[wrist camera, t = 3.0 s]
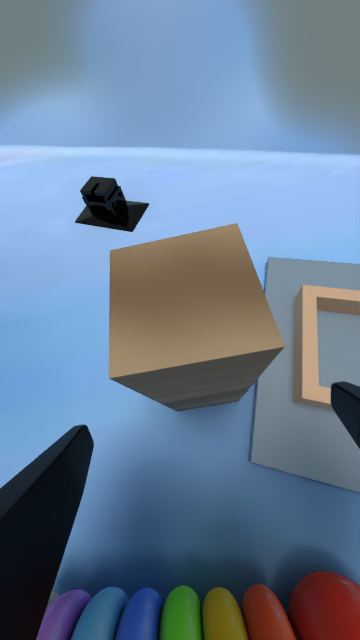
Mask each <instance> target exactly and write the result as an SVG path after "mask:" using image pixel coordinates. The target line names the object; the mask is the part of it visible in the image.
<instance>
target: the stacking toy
mask: <svg viewBox="0 0 360 640" xmlns="http://www.w3.org/2000/svg"><path fill="white" fill-rule="evenodd" d="M287 616H288V618H287ZM36 640H360V586H359V585H358V584H356V583H355V582H353V581H352V580H350V579H349V578H347V577H345V576H342V575H340V574H337V573H334V572H329V571H317V572H313V573H310V574H308V575H306V576H304V577H303V578H302V579H301V580H300V581H299V582H298V584H297V585H296V586H295V588H294V590H293V592H292V594H291V597H290V600H289V606H288V612H287V615H286V613H285V611H284V609H283V607H282V605H281V603H280V601H279V599H278V598H277V596H276V595H275V594H274V592H273V591H272V590H271V589H269V588H268V587H266V586H265V585H261V584H255V585H252V586H251V587H249V588H248V589H247V590H246V592H245V594H244V597H243V601H242V607H241V610H240V608H239V605H238V603H237V601H236V600H235V598H234V596H233V595H232V594H231V593H230V592H229V591H228V590H227V589H225V588H222V587H216V588H213V589H211V590H210V591H209V592H208V593H207V595H206V597H205V599H204V602H203V604H202V607H201V603H200V600H199V598H198V596H197V594H196V593H195V591H194V590H193V589H192V588H190V587H188V586H179V587H176V588H175V589H173V590H172V591H171V592H170V593H169V595H168V596H167V598H166V600H165V603H164V602H163V600H162V598H161V596H160V595H159V594H158V592H157V591H155V590H153V589H151V588H143V589H141V590H139V591H137V592H136V593H135V594H134V595H133V596H132V597H131V598H130V599H128V597H127V595H126V594H125V592H124V591H123V590H121V589H120V588H117V587H108V588H105V589H102V590H101V591H99V592H98V593H97V594H96V595H95V596H94V597H93V598H91V596H90V595H89V594H88V593H87V592H86V591H84V590H81V589H75V590H69V591H67V592H65V593H63V594H62V595H60V596H59V595H58V594H57V593H56V592H55V591H53V590H52V592H51V595H50V598H49V602H48V605H47V608H46V611H45V614H44V617H43V620H42V623H41V627H40V630H39V633H38V636H37V639H36Z"/></svg>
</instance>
